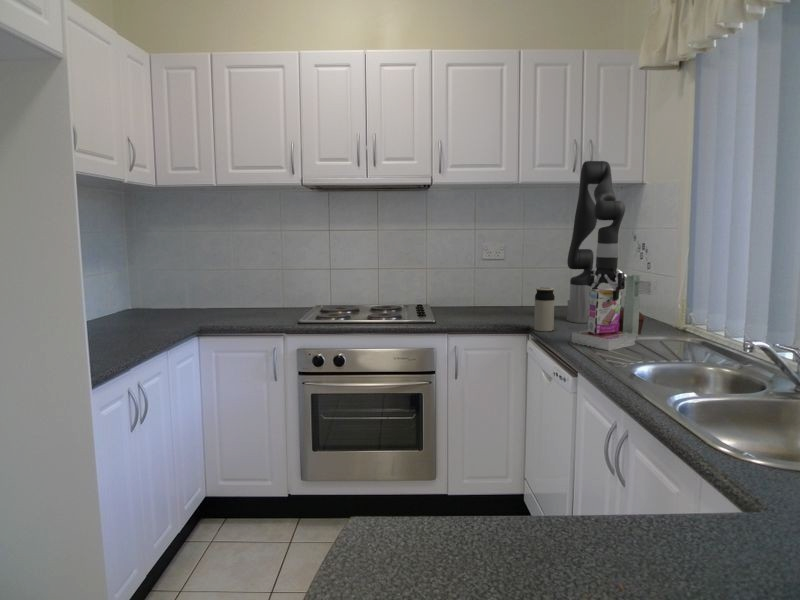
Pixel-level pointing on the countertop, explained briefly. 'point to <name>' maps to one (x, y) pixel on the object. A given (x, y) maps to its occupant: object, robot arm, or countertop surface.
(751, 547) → the countertop surface
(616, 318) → the candy bar box
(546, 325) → the travel mug
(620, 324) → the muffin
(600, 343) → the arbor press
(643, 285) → the press lever
